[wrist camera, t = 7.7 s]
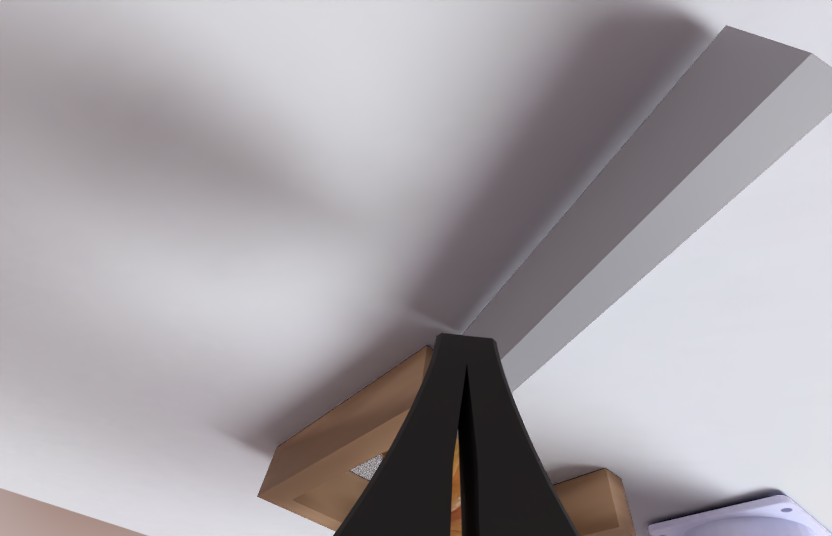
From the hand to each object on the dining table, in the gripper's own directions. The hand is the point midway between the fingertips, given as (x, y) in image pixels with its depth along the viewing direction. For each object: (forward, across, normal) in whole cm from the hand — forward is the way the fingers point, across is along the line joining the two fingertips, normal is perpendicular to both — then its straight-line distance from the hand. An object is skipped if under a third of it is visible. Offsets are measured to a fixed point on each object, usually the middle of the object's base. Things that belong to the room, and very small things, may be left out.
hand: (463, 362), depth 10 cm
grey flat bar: (+5, -3, -1) cm, 6 cm away
